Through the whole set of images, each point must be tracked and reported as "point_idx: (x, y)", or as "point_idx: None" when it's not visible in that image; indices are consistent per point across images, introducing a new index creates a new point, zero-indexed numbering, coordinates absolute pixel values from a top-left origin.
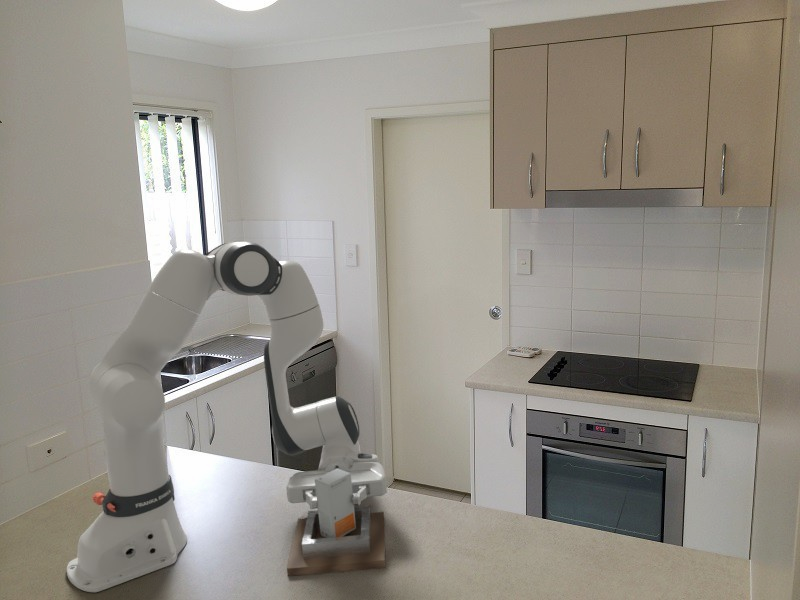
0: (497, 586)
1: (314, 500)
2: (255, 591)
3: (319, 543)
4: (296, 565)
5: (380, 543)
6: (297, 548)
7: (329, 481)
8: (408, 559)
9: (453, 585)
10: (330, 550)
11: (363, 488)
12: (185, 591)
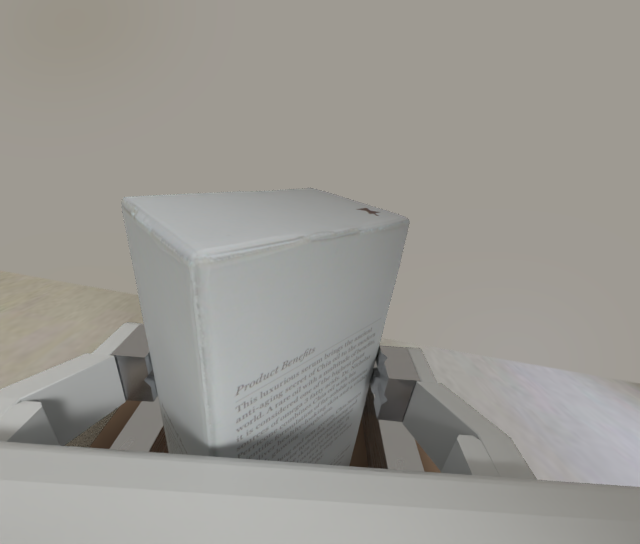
0: (8, 284)
1: (393, 348)
2: (452, 354)
3: None
4: None
5: (125, 418)
6: (422, 455)
7: (304, 193)
8: None
9: (76, 298)
10: None
11: (17, 387)
12: (609, 382)
